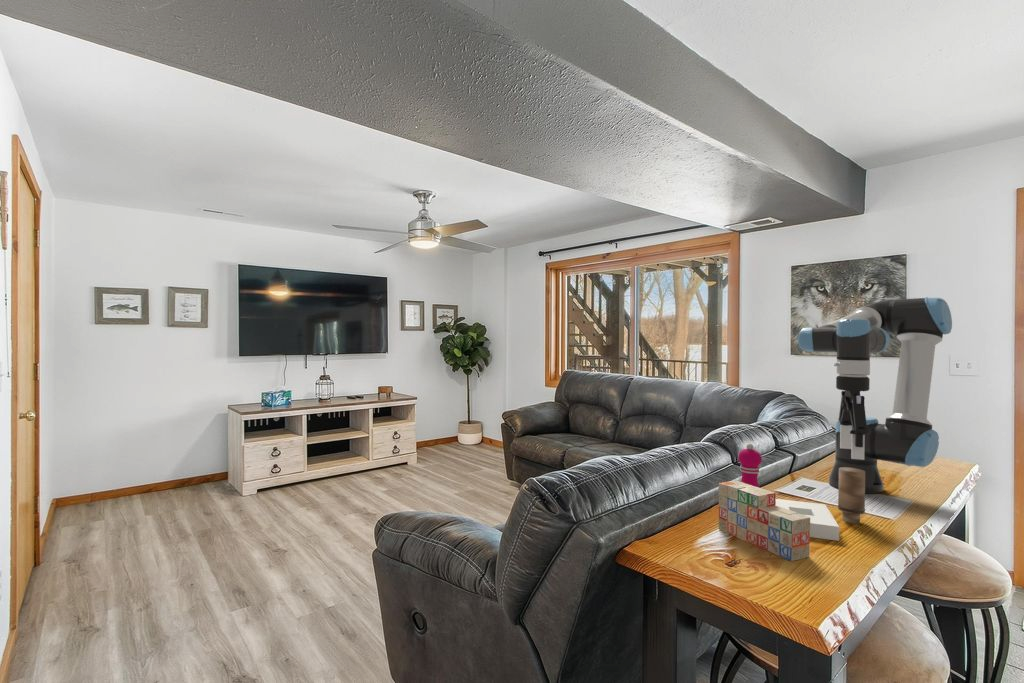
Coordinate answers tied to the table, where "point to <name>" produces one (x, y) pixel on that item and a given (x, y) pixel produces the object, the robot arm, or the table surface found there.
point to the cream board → (814, 518)
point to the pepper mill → (749, 465)
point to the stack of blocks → (763, 520)
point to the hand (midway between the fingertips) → (851, 453)
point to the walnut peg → (851, 494)
